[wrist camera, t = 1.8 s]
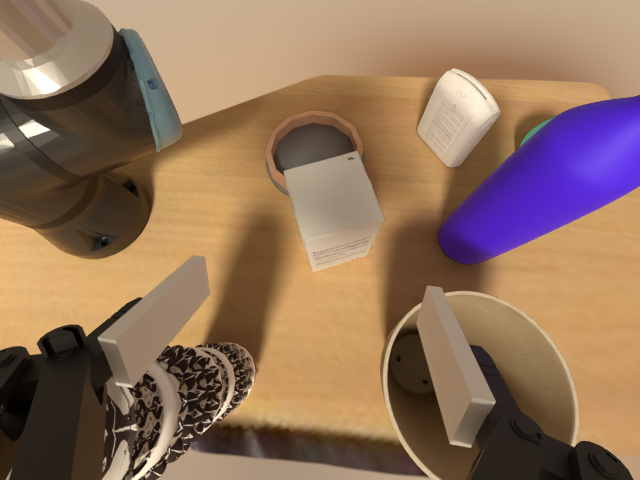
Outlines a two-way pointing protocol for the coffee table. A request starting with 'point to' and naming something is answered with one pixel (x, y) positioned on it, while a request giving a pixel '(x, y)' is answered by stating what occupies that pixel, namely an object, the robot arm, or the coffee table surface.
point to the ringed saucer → (308, 142)
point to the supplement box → (334, 209)
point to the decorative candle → (172, 407)
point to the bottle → (550, 181)
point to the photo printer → (457, 117)
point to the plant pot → (510, 359)
